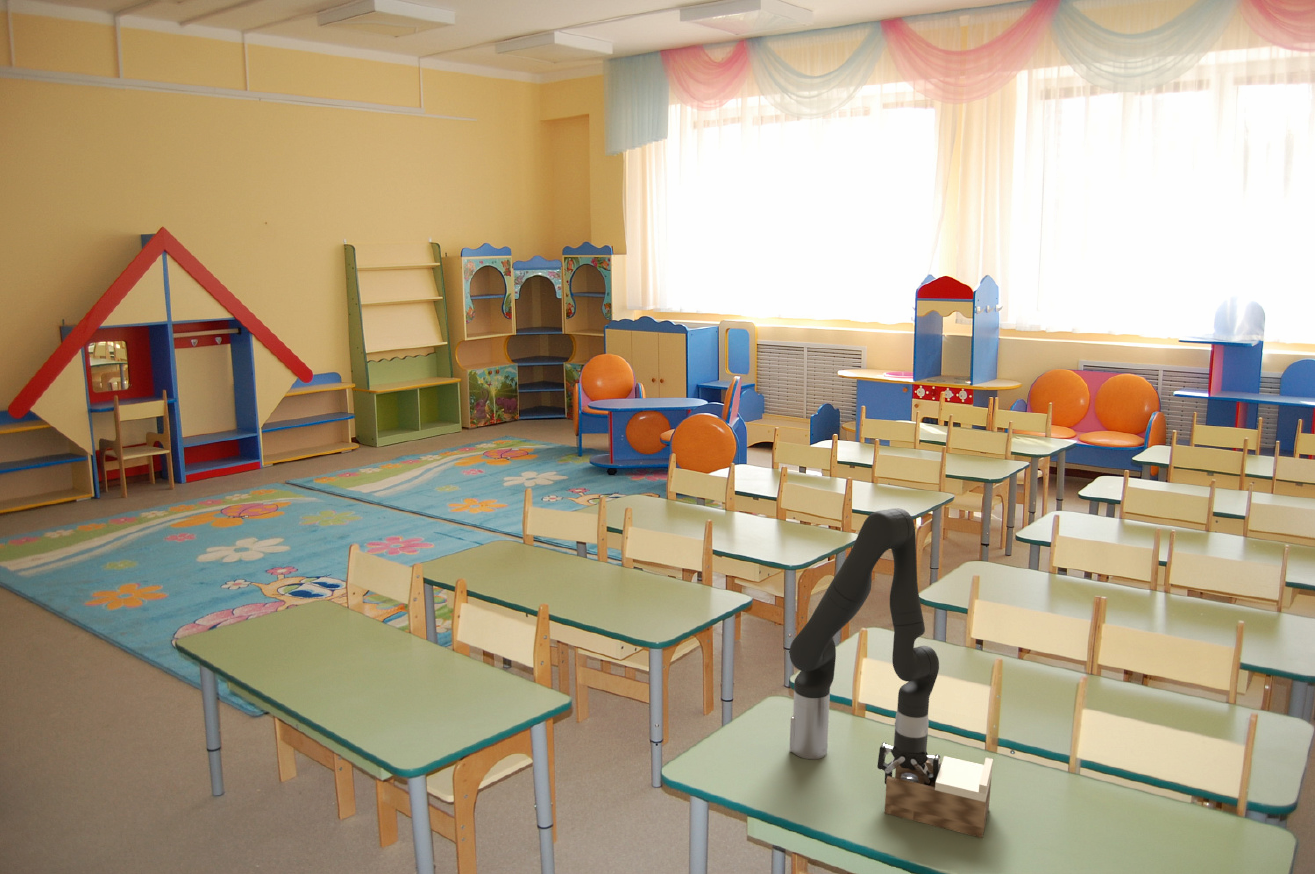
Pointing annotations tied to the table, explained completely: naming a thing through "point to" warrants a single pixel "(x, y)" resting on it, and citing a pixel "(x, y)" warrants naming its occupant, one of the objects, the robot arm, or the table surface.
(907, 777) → the silver metal cylinder
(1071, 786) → the table surface
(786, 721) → the table surface
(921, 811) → the box
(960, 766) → the lid
